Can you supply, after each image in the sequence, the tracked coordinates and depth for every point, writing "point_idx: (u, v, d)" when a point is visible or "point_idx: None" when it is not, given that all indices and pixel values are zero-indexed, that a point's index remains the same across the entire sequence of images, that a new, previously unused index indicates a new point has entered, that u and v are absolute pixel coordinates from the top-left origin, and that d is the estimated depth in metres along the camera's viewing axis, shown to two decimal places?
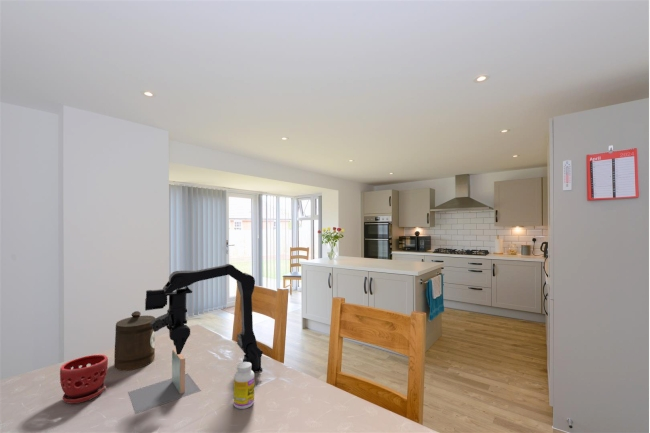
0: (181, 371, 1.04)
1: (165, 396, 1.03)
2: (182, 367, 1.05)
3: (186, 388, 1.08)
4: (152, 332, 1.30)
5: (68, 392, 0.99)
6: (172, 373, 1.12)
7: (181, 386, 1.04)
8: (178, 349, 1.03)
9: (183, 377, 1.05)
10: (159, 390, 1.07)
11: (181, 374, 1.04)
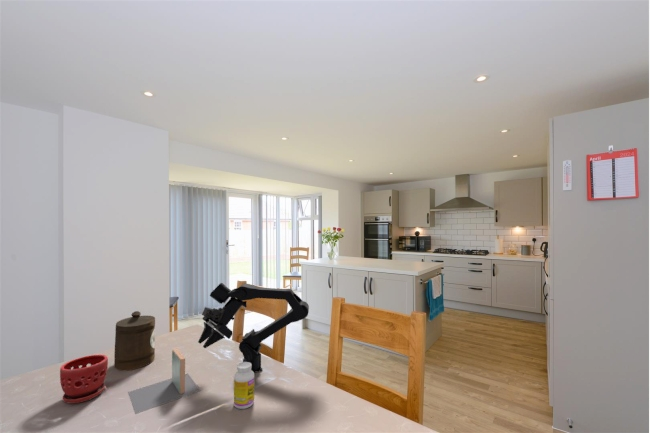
0: (181, 371, 1.04)
1: (165, 396, 1.03)
2: (182, 367, 1.05)
3: (186, 388, 1.08)
4: (152, 332, 1.30)
5: (68, 392, 0.99)
6: (172, 373, 1.12)
7: (181, 386, 1.04)
8: (207, 343, 1.12)
9: (183, 377, 1.05)
10: (159, 390, 1.07)
11: (181, 374, 1.04)
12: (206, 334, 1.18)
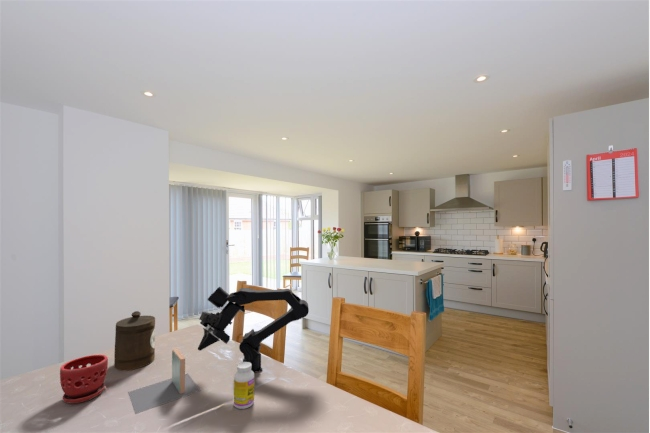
0: (181, 371, 1.04)
1: (165, 396, 1.03)
2: (182, 367, 1.05)
3: (186, 388, 1.08)
4: (152, 332, 1.30)
5: (68, 392, 0.99)
6: (172, 373, 1.12)
7: (181, 386, 1.04)
8: (202, 346, 1.14)
9: (183, 377, 1.05)
10: (159, 390, 1.07)
11: (181, 374, 1.04)
12: None
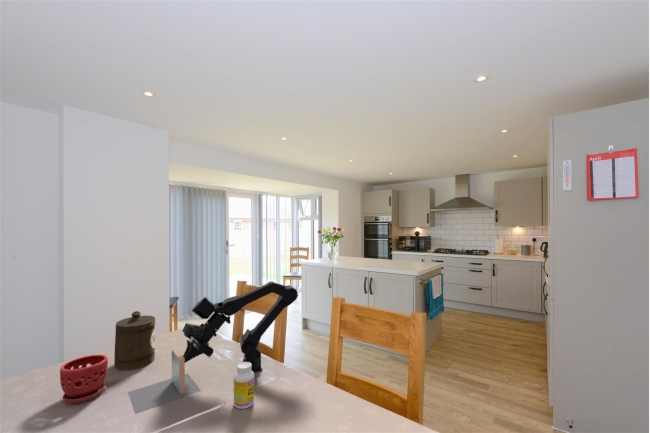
0: (181, 371, 1.04)
1: (165, 396, 1.03)
2: (182, 367, 1.05)
3: (186, 388, 1.08)
4: (152, 332, 1.30)
5: (68, 392, 0.99)
6: (172, 373, 1.12)
7: (181, 386, 1.04)
8: (185, 359, 1.10)
9: (183, 377, 1.05)
10: (159, 390, 1.07)
11: (181, 374, 1.04)
12: None
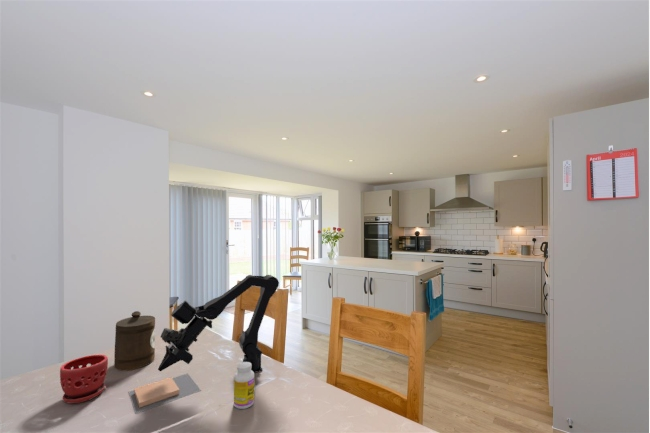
0: (154, 401, 0.99)
1: None
2: (149, 402, 0.98)
3: (186, 388, 1.08)
4: (152, 332, 1.30)
5: (68, 392, 0.99)
6: None
7: (171, 395, 1.02)
8: (163, 366, 1.05)
9: (162, 396, 1.00)
10: None
11: (157, 400, 1.00)
12: None
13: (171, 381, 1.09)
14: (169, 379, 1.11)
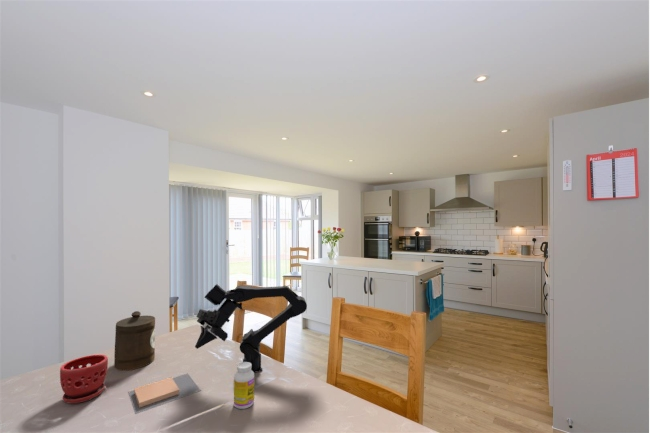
0: (154, 401, 0.99)
1: None
2: (149, 402, 0.98)
3: (186, 388, 1.08)
4: (152, 332, 1.30)
5: (68, 392, 0.99)
6: None
7: (171, 395, 1.02)
8: (200, 343, 1.13)
9: (162, 396, 1.00)
10: None
11: (157, 400, 1.00)
12: None
13: (171, 381, 1.09)
14: (169, 379, 1.11)
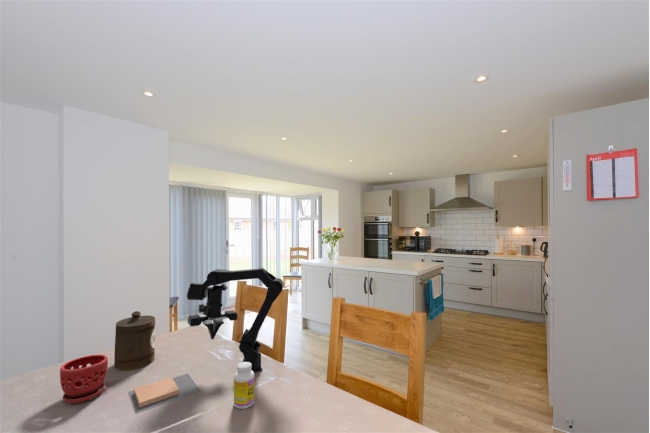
0: (154, 401, 0.99)
1: None
2: (149, 402, 0.98)
3: (186, 388, 1.08)
4: (152, 332, 1.30)
5: (68, 392, 0.99)
6: None
7: (171, 395, 1.02)
8: (210, 334, 1.21)
9: (162, 396, 1.00)
10: None
11: (157, 400, 1.00)
12: (213, 329, 1.22)
13: (171, 381, 1.09)
14: (169, 379, 1.11)
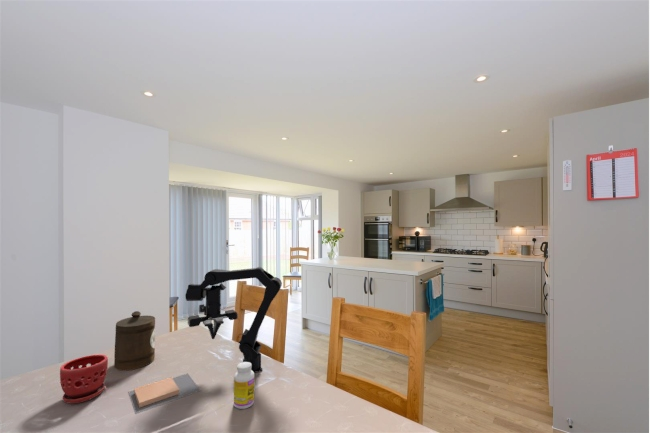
0: (154, 401, 0.99)
1: None
2: (149, 402, 0.98)
3: (186, 388, 1.08)
4: (152, 332, 1.30)
5: (68, 392, 0.99)
6: None
7: (171, 395, 1.02)
8: (210, 334, 1.22)
9: (162, 396, 1.00)
10: None
11: (157, 400, 1.00)
12: (214, 329, 1.22)
13: (171, 381, 1.09)
14: (169, 379, 1.11)
